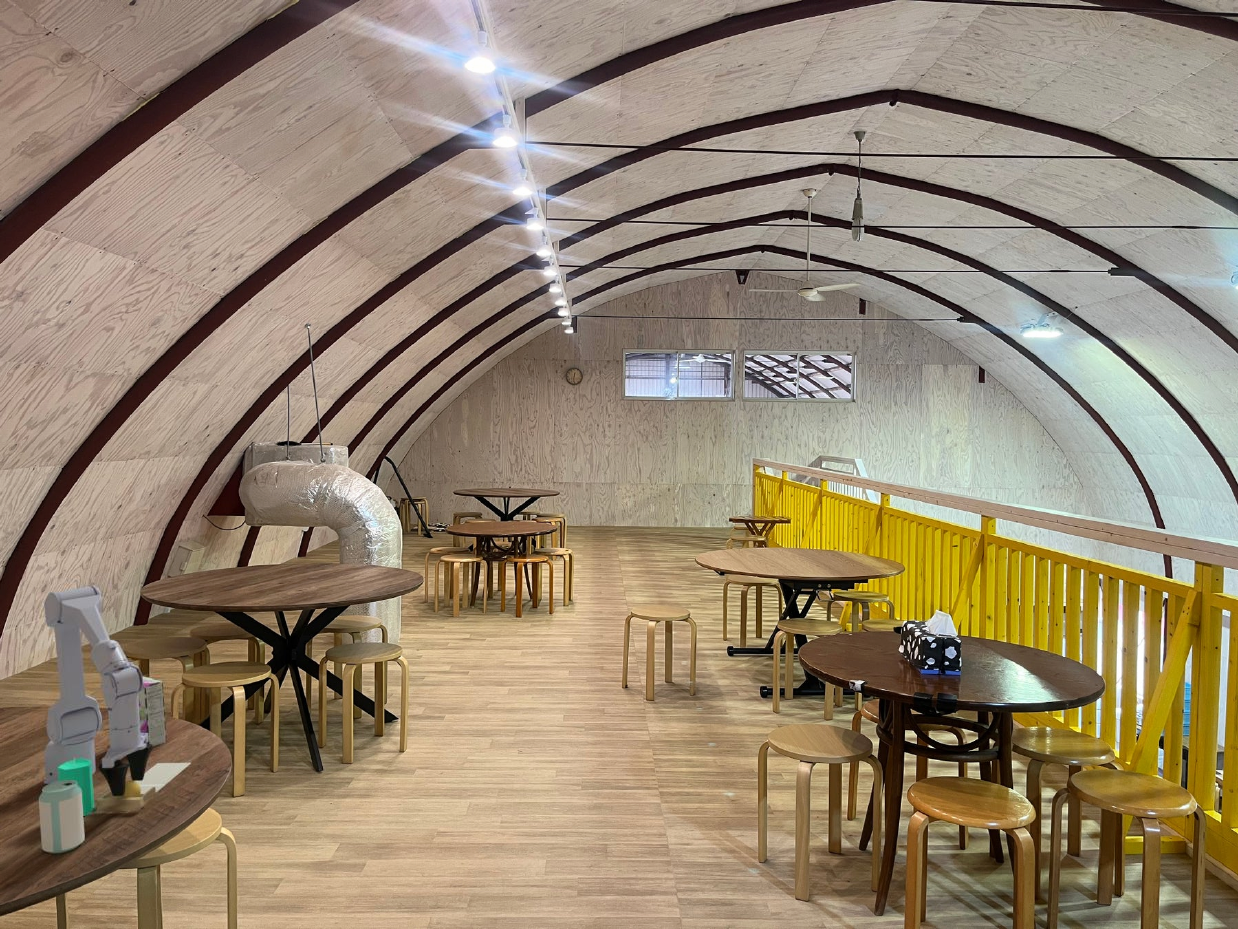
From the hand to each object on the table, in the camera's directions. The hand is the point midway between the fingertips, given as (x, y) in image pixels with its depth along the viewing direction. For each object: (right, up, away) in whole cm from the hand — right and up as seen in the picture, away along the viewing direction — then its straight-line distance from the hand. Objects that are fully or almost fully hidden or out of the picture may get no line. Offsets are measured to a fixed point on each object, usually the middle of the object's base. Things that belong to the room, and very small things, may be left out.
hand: (128, 787), depth 197 cm
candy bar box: (-14, -1, +35) cm, 37 cm away
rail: (0, -3, -1) cm, 4 cm away
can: (-3, -5, -18) cm, 19 cm away
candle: (-8, -4, -4) cm, 10 cm away
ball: (0, -3, 0) cm, 3 cm away
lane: (0, -3, +8) cm, 9 cm away
